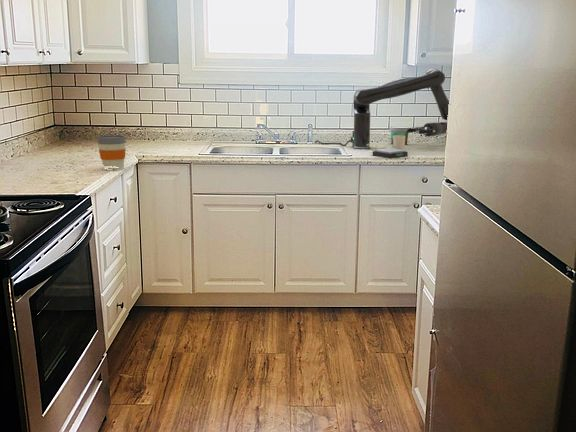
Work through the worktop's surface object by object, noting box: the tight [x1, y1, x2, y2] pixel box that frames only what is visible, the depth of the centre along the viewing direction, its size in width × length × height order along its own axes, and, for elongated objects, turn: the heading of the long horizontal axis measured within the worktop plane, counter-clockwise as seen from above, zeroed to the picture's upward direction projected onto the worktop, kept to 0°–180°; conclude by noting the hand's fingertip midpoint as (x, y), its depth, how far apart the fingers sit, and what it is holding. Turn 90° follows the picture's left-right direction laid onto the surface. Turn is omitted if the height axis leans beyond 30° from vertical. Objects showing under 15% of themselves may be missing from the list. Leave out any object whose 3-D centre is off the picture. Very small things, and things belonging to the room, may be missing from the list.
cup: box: [392, 135, 406, 150], centre depth 336 cm, size 6×6×9 cm
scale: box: [371, 147, 409, 159], centre depth 324 cm, size 13×13×3 cm
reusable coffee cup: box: [97, 134, 127, 171], centre depth 287 cm, size 13×12×15 cm
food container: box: [389, 126, 410, 145], centre depth 369 cm, size 12×6×10 cm, turn 62°
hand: (413, 131), depth 341 cm, fingers open, 8 cm apart
